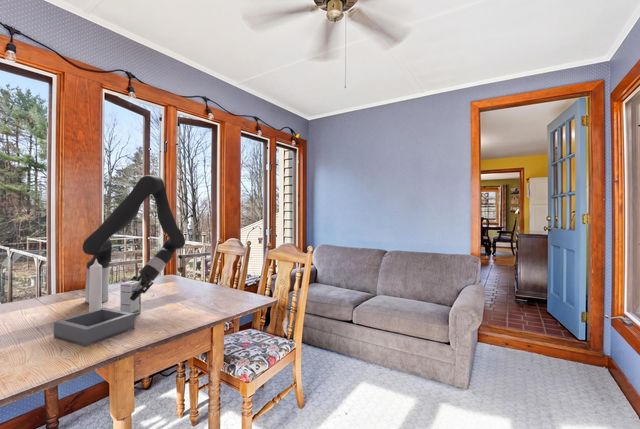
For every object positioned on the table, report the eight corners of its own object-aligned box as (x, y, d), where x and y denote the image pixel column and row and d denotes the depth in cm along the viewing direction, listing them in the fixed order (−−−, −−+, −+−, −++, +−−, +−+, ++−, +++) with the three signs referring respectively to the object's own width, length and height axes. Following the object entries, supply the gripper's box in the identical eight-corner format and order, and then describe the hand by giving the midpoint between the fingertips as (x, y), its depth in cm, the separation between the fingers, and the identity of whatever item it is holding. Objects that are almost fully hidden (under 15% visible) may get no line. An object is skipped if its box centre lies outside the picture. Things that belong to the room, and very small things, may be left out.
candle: (108, 313, 139) (109, 258, 138) (92, 318, 132) (93, 260, 132) (97, 311, 141) (98, 257, 141) (81, 315, 134) (82, 259, 134)
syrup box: (130, 316, 135) (131, 284, 135) (119, 315, 136) (120, 283, 136) (140, 312, 140) (141, 281, 140) (130, 311, 142) (130, 280, 141)
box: (53, 337, 112) (54, 321, 112) (104, 321, 128) (104, 307, 128) (85, 346, 105) (86, 329, 105) (134, 328, 122) (134, 313, 122)
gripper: (139, 262, 148) (112, 291, 138) (156, 265, 141) (129, 296, 131) (150, 271, 153) (125, 300, 143) (167, 275, 145) (141, 305, 135)
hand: (127, 298), depth 137 cm, fingers closed on syrup box, 7 cm apart
